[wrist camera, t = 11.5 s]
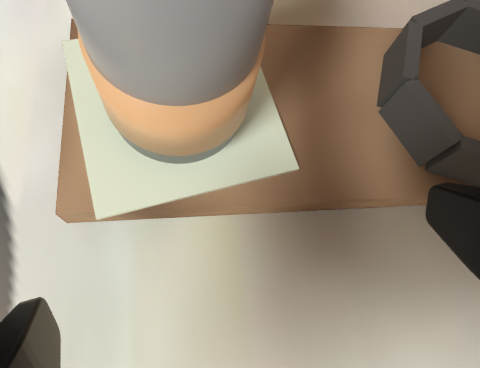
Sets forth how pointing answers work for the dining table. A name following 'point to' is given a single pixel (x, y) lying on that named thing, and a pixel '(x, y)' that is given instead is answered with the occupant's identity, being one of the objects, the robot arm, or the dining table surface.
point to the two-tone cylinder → (173, 69)
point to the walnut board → (314, 129)
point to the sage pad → (167, 174)
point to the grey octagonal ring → (420, 100)
